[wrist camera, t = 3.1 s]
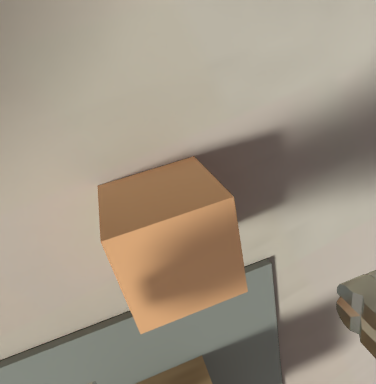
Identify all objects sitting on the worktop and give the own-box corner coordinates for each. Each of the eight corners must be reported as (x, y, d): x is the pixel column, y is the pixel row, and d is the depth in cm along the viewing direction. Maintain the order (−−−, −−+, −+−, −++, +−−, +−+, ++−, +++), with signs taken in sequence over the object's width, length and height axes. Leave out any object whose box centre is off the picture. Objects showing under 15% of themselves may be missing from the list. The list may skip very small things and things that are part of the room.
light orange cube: (97, 185, 15) (100, 241, 10) (193, 155, 15) (233, 196, 11) (127, 262, 17) (140, 334, 13) (209, 232, 18) (247, 291, 13)
